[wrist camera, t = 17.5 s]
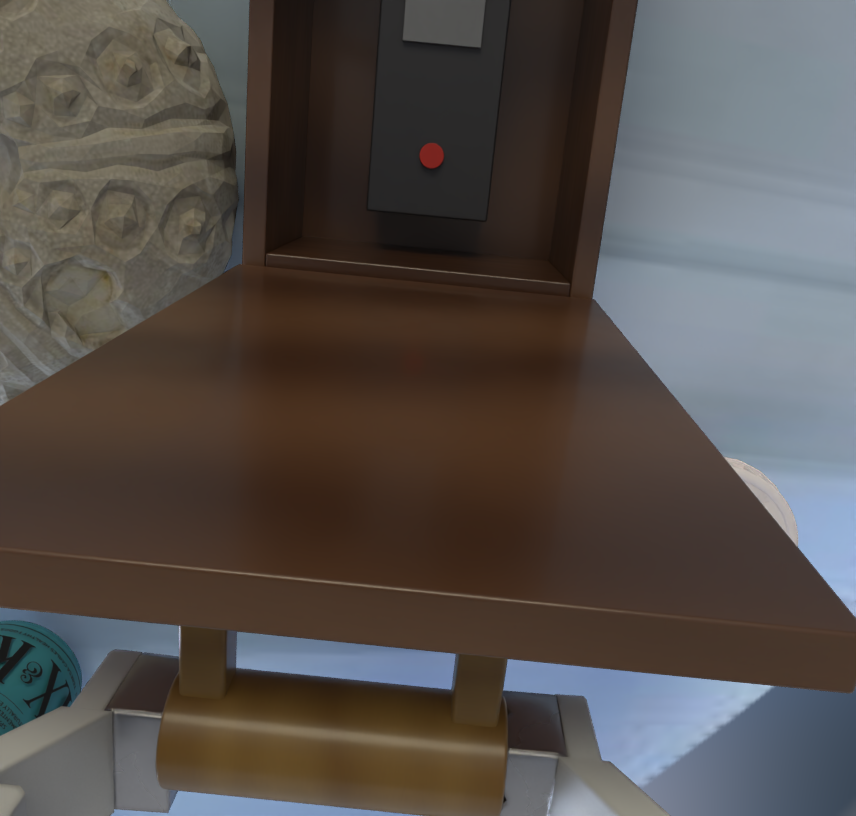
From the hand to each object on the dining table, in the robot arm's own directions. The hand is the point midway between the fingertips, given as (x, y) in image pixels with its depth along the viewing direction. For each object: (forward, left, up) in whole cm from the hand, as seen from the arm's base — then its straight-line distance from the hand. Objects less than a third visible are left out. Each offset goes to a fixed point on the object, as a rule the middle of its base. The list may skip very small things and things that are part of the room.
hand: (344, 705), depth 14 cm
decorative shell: (-7, -16, -24) cm, 30 cm away
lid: (-5, 0, -6) cm, 8 cm away
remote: (-14, 0, -23) cm, 27 cm away
